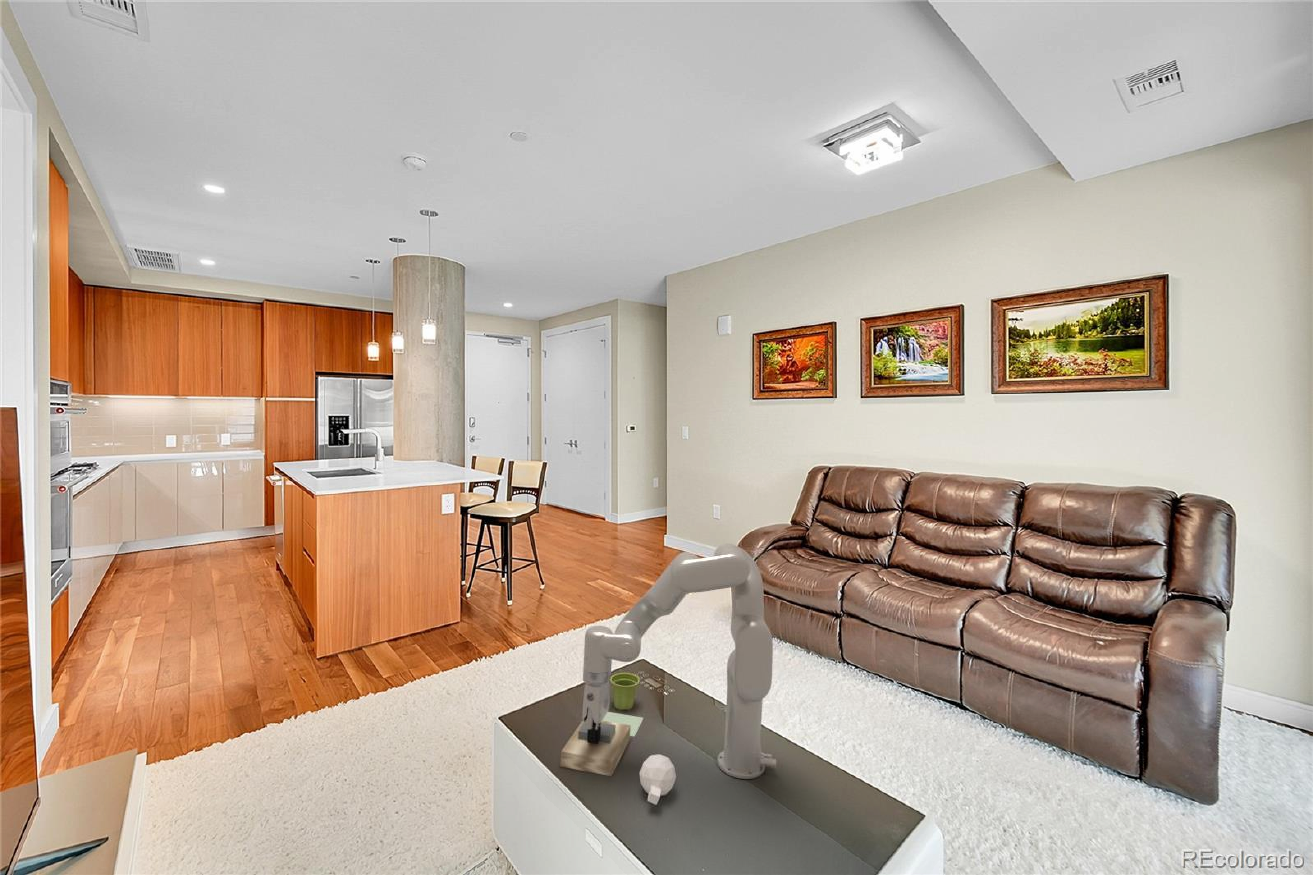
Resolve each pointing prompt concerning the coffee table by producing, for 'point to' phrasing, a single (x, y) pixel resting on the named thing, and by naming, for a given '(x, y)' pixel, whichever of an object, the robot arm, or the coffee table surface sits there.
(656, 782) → the perfume bottle
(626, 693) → the plant pot
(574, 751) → the light wood flat block
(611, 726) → the grey rectangular block
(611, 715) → the mat
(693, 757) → the coffee table surface
